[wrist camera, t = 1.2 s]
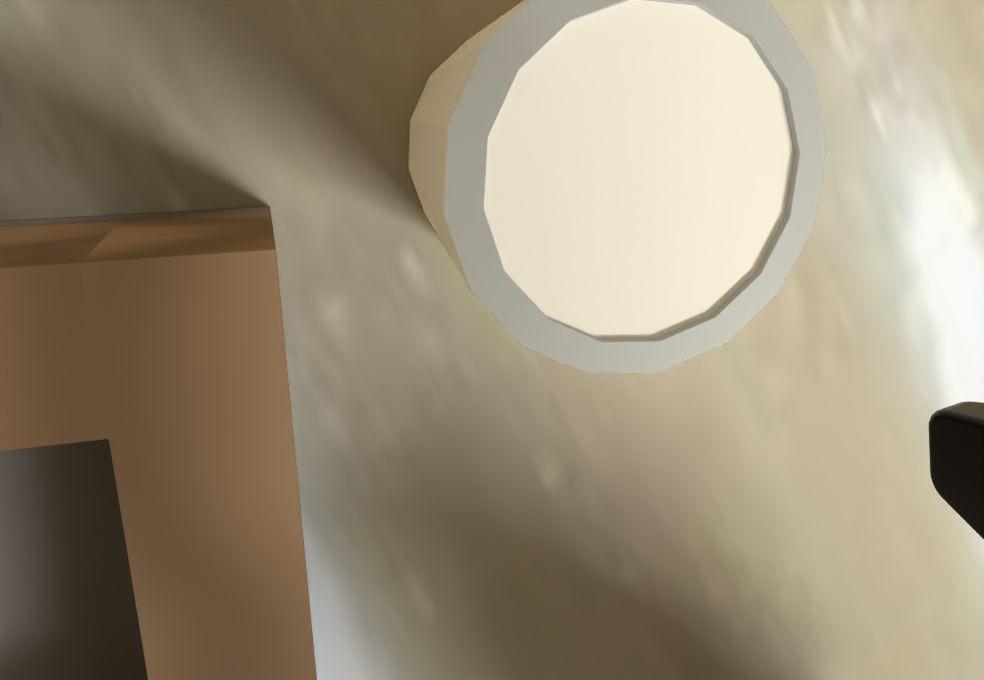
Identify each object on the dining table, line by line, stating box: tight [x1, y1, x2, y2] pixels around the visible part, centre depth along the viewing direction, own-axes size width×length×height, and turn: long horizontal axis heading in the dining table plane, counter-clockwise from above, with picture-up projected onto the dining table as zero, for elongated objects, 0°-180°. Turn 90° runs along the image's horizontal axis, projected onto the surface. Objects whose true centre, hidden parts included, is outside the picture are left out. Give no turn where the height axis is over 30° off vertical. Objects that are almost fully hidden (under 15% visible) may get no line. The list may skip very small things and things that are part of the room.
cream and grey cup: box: [408, 0, 827, 374], centre depth 17 cm, size 7×7×7 cm
